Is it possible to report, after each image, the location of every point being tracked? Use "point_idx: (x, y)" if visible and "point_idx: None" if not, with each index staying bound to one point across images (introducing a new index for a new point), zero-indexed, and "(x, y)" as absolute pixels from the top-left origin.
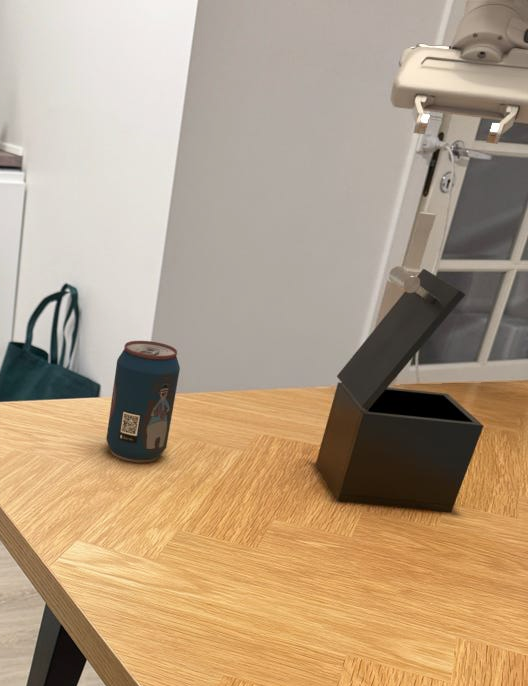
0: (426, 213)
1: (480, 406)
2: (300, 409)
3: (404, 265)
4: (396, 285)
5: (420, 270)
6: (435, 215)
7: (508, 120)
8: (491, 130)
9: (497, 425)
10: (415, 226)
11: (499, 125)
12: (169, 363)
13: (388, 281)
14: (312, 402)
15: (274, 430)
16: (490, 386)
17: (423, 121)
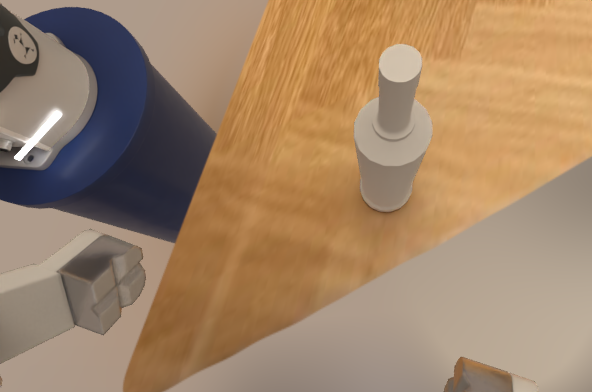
0: (405, 56)
1: (221, 246)
2: (493, 119)
3: (410, 117)
4: (418, 102)
5: (375, 114)
6: (381, 57)
7: (3, 274)
8: (121, 247)
9: (226, 170)
10: (418, 82)
11: (66, 265)
12: None
13: (431, 122)
14: (473, 158)
15: (530, 26)
16: (166, 367)
17: (491, 378)
